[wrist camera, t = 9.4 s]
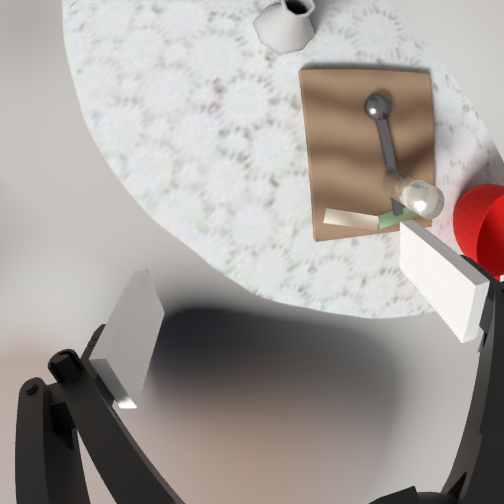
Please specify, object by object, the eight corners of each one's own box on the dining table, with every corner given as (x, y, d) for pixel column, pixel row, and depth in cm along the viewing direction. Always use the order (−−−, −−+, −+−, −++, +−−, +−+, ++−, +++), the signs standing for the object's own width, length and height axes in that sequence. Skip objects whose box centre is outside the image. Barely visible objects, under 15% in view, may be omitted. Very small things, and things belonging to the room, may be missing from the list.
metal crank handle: (360, 97, 34) (396, 95, 25) (385, 93, 34) (426, 90, 25) (385, 216, 40) (421, 245, 31) (408, 209, 40) (446, 236, 31)
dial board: (298, 71, 34) (301, 69, 33) (423, 74, 34) (429, 74, 32) (313, 237, 43) (316, 242, 42) (426, 223, 43) (431, 227, 41)
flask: (289, -5, 30) (305, -37, 20) (324, 37, 32) (350, 16, 23) (242, 21, 31) (244, -6, 22) (277, 64, 34) (291, 49, 25)
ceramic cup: (439, 279, 47) (470, 311, 38) (434, 183, 40) (475, 202, 31) (492, 256, 46) (525, 282, 37) (491, 166, 39) (533, 182, 30)
